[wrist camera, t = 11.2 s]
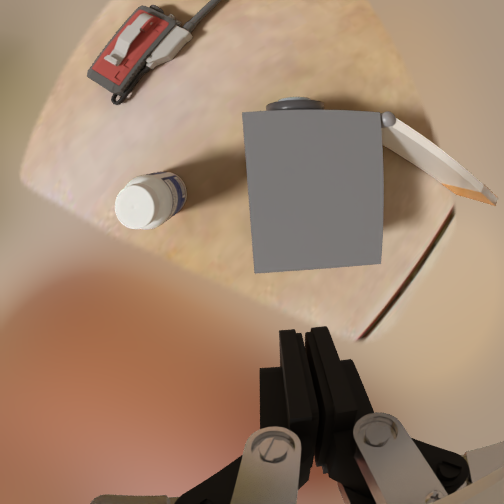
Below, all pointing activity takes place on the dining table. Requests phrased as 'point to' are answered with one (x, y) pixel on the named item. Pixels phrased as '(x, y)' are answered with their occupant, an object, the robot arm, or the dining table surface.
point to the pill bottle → (150, 200)
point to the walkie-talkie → (141, 48)
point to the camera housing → (314, 186)
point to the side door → (432, 160)
